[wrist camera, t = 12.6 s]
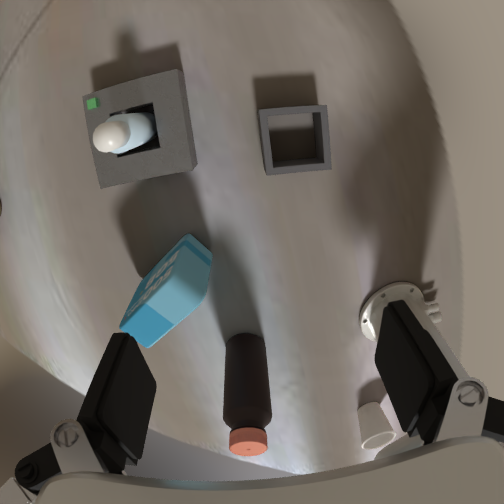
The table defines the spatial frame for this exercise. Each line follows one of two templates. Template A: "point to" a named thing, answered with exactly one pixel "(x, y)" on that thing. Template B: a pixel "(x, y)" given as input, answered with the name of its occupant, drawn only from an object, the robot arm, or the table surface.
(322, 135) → the grey open box
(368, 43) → the table surface
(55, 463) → the robot arm
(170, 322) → the data package
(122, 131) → the plug
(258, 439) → the vinegar
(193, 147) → the port
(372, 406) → the dixie cup
